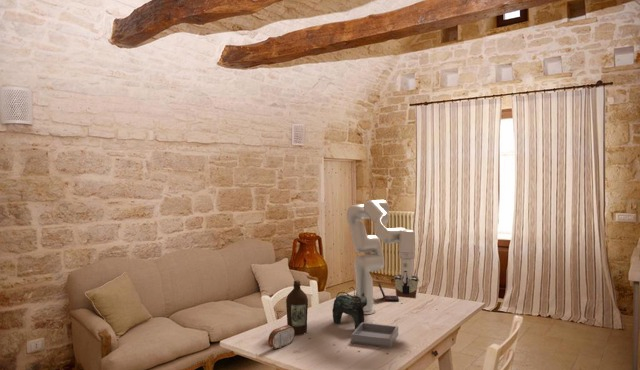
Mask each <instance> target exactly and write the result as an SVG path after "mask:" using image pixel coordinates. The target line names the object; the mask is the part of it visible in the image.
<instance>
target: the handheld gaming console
mask: <svg viewBox="0 0 640 370" xmlns="http://www.w3.org/2000/svg"><path fill="white" fill-rule="evenodd" d="M377 283H378V287H379V290H380V292H381V294H382V299H383V302H393V303H398V302H399V301H400V299H399V298H400V297H396V295H385V292H384V290H383V288H382V284H381V282H377Z"/></svg>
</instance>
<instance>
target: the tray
mask: <svg viewBox="0 0 640 370" xmlns="http://www.w3.org/2000/svg"><path fill="white" fill-rule="evenodd" d="M354 329H355V328H354ZM398 336H399V326H397V325H389V324H379V323H373V322H372V323H371V322H364V323H363V322H362V323H361V324H360V325H359V326H358V327H357V328H356V329H355V330H354V331H353V332H352V333H351V335H350V342H351V344H355V345H356V344H357V345H362V346H371V347H377V348H378V347H379V348H386V349H391V348H392V346H393V345H394V343H395V342H396V339H397V338H398Z"/></svg>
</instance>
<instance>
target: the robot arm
mask: <svg viewBox="0 0 640 370" xmlns="http://www.w3.org/2000/svg"><path fill="white" fill-rule="evenodd" d="M389 213H390V205H389V203H388V202H387V201H386V200H385V199H370V200H367V201H365V202H364V203H362V204H360V203H358V204H353V205H350V206H348V208H347V209H346V220H347V223H348V226H349V229H350V233H351V238H352V239H351V240H352V244H353V248H354V251H355V252H356V253H369V254H360V255H358V256H356V257H355V258H354V260H353V261H354V262H353V265H354V266H353V267H354V271H355V294H356V293H358V295H362V294H363V293H364V294H365V297H366V298H367V305H366V306H365V307H363V311H364V315H372V314H376V312H377V311H376V308H375V307H374V281H373V276H372V275H371V273H370V272H377V271H381V270H383V269H384V267H385V257H384V253H383V247H382V243H385V244H387V245H388V244H398V259H400V275H401V279H403V285H402V293H403V294H409V279H410V280H412V278H413V276H415V273H414V269H415V268H414V260H415V258H416V254H415V253H416V251H415V250H416V248H415V247H416V234H415V233H416V232H415V230H412V229H407V228H405V227H391V228H389V227H388V228H387V227H386V225H387V224H388V223H389V221H390V215H389ZM361 220H371V221H372V222H373V223H374V231H375V235H374V234H368V233H367V228H366V226H365V224H364V223H363V222H362V221H361ZM381 242H382V243H381ZM406 278H408V279H406Z"/></svg>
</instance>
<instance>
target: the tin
mask: <svg viewBox="0 0 640 370" xmlns="http://www.w3.org/2000/svg"><path fill="white" fill-rule="evenodd" d="M295 336H296V335H295V330H294V328H293V327H291V326H289V325H287V324H286V325H283V326H281V327H280V326H279V327H277V328H274V329H273V330H272V331H271V332H270V333H269V335H268V338H267V339H268V340H267V345H268V346H269V347H270V348H272V349H275V350H278V349H281V348H283V347H285V345H286V346H288V345H290V344H292V342H293V341H294V339H295ZM289 343H290V344H289ZM287 344H288V345H287ZM282 346H283V347H282ZM280 347H281V348H280ZM277 348H278V349H277Z"/></svg>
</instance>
